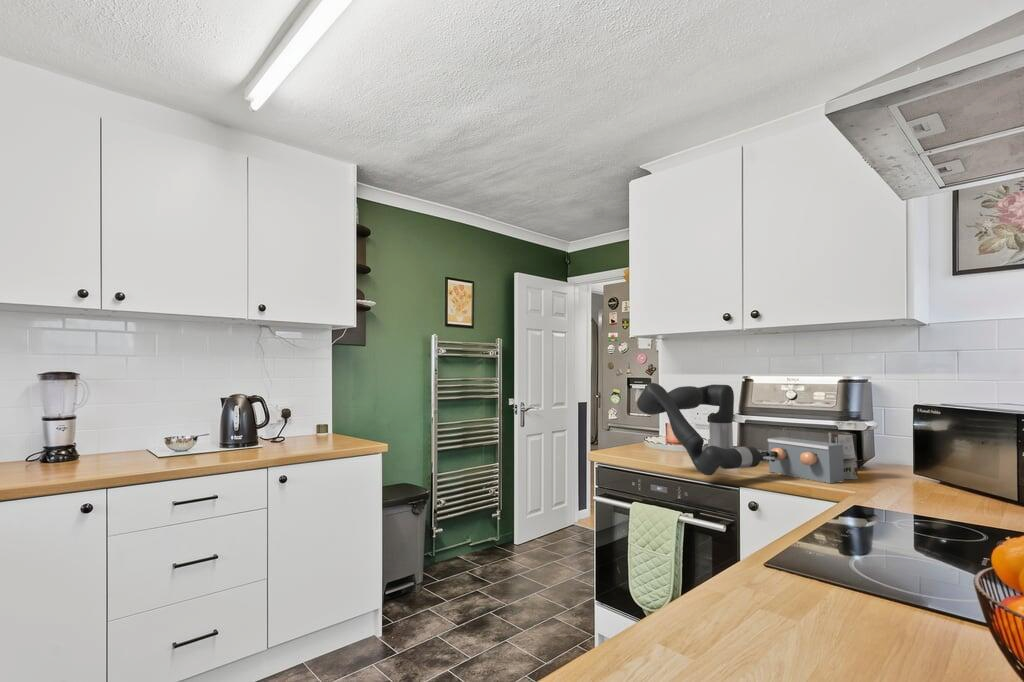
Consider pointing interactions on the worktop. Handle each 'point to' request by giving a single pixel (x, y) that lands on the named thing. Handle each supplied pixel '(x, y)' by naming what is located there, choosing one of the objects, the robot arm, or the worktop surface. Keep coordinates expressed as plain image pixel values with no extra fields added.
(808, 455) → the knob
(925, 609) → the worktop surface
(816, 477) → the control box
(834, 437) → the coffee box
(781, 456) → the knob
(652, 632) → the worktop surface
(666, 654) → the worktop surface
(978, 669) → the worktop surface
